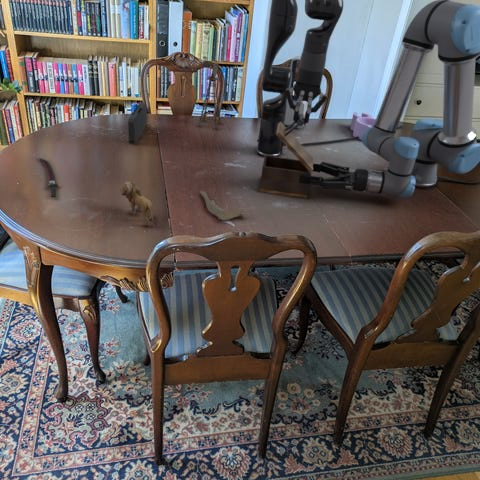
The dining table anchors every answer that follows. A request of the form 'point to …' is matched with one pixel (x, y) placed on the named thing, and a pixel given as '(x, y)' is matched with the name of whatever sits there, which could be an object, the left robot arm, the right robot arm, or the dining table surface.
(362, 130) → the clip
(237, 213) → the jawbone
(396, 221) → the dining table surface
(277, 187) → the chest
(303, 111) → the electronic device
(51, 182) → the sword
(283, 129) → the lid
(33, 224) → the dining table surface
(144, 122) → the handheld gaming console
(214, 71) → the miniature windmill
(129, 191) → the lion figurine
